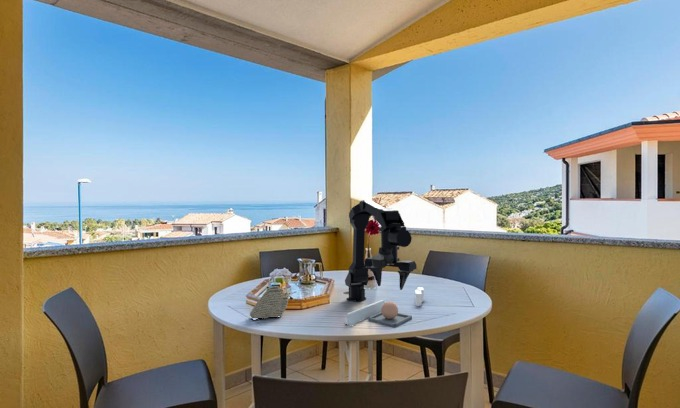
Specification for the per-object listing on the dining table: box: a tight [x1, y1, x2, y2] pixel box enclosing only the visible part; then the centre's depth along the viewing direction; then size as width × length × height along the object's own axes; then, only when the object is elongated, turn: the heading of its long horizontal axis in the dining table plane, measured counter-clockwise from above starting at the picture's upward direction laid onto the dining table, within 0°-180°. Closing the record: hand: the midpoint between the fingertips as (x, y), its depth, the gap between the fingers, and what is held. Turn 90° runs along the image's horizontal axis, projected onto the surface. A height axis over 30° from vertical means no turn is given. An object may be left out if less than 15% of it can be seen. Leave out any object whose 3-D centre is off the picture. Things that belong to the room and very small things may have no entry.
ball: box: [381, 301, 399, 319], centre depth 127 cm, size 6×6×6 cm
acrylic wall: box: [344, 299, 386, 327], centre depth 130 cm, size 3×22×4 cm, turn 140°
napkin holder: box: [414, 286, 425, 307], centre depth 150 cm, size 15×11×6 cm
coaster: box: [367, 312, 413, 328], centre depth 127 cm, size 11×11×1 cm
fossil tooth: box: [249, 285, 290, 319], centre depth 132 cm, size 12×6×15 cm
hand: (389, 287), depth 127 cm, fingers open, 9 cm apart
